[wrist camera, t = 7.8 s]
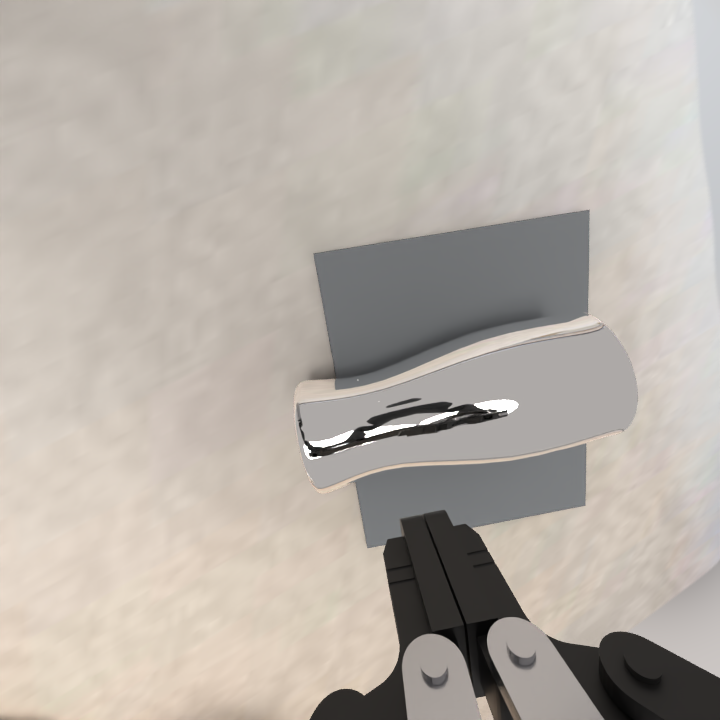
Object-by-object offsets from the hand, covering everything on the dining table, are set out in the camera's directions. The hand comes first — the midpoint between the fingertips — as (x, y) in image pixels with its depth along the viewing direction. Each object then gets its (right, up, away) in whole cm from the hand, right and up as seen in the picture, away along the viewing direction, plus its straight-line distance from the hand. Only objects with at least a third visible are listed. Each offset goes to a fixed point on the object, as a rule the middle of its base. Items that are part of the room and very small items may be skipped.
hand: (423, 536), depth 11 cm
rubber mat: (+5, +3, +11) cm, 12 cm away
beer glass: (-5, +1, +7) cm, 9 cm away
